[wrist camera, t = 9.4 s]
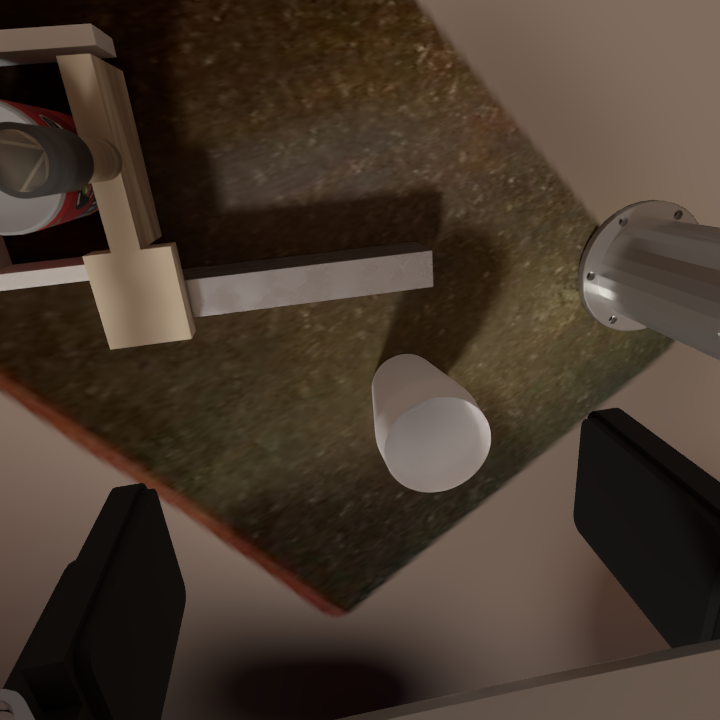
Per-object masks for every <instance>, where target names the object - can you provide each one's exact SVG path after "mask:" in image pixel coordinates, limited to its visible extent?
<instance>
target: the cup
mask: <svg viewBox="0 0 720 720" xmlns="http://www.w3.org/2000/svg"><path fill="white" fill-rule="evenodd" d="M372 396H373V410H374V424H375V436H376V441H377V445H378V448H379V451H380V453H381V455H382V456H383V458H384V461H385V463H386V465H387V467H388V469H389V471H390V473H391V474H392V476H393V477H394V478H395V479H396V480H397V481H398V482H399V483H401V484H402V485H404V486H406V487H407V488H410V489H412V490H416V491H420V492H440V491H445V490H448V489H451V488H454V487H456V486H458V485H460V484H462V483H463V482H465V481H466V480H468V479H469V478H470V477H472V476H473V475H474V474H475V473H476V472H477V471H478V470H479V468H480V467H481V466H482V464H483V463H484V461H485V459H486V457H487V455H488V452H489V448H490V443H491V432H490V427H489V424H488V422H487V419H486V418H485V416H484V415H483V413H482V412H481V410H480V409H479V407H478V406H477V404H476V402H475V400H474V398H473V397H472V396H471V395H470V394H469V393H468V392H467V391H466V390H465V389H464V388H463V387H462V386H460V385H459V384H458V383H456V382H455V381H454V380H452V379H451V378H450V377H448V376H447V375H446V374H444V373H443V372H442V371H440V370H439V369H438V368H436V367H435V366H434V365H432V364H431V363H430V362H428V361H427V360H426V359H424V358H422V357H420V356H418V355H414V354H401V355H397V356H394V357H392V358H390V359H388V360H387V361H385V362H384V363H383V364H382V365H381V366H380V367H379V368H378V370H377V371H376V373H375V375H374V378H373V381H372Z"/></svg>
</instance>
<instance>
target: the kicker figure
mask: <svg viewBox="0 0 720 720" xmlns="http://www.w3.org/2000/svg"><path fill="white" fill-rule="evenodd" d="M56 58H57V62H58V65H59V69H60V72H61V76H62V80H63V83H64V87H65V90H66V94H67V97H68V101H69V105H70V108H71V112H72V115H73V119H74V123H75V126H76V130H77V133H78V136H77V135H76V134H74V133H72V132H70V131H68V130H65V129H61V128H54V127H47V126H39V125H32V124H24V123H17V122H0V191H2V192H3V193H5V194H7V195H10V196H13V197H16V198H22V199H31V198H37V197H43V196H49V195H55V194H61V193H67V192H73V191H77V190H80V189H82V188H83V187H85V186H86V185H87V184H89V183H92V187H93V191H94V194H95V198H96V201H97V205H98V208H99V212H100V216H101V219H102V223H103V226H104V230H105V234H106V237H107V241H108V244H109V248H110V250H101V251H93V252H90V253H88V254H86V255H84V256H82V257H83V260H84V264H85V267H86V270H87V274H88V277H89V280H90V284H91V287H92V290H93V294H94V297H95V300H96V303H97V307H98V310H99V313H100V317H101V320H102V323H103V327H104V330H105V333H106V337H107V340H108V343H109V347H110V349H118V348H125V347H133V346H140V345H148V344H155V343H163V342H171V341H178V340H186V339H192V337H193V335H194V333H195V331H196V329H195V325H194V320H193V316H192V312H191V307H190V303H189V299H188V294H187V290H186V285H185V281H184V277H183V272H182V268H181V264H180V259H179V255H178V250H177V246H176V242H172V243H163V244H154V245H149V244H151V243H152V242H154V241H155V240H157V239H158V238H160V237H161V236H162V234H161V230H160V226H159V222H158V217H157V213H156V209H155V205H154V201H153V196H152V192H151V188H150V184H149V180H148V175H147V171H146V167H145V163H144V159H143V154H142V150H141V146H140V142H139V137H138V133H137V129H136V125H135V121H134V116H133V112H132V108H131V104H130V100H129V95H128V91H127V87H126V83H125V79H124V74H123V71H121V70H119V69H118V68H116V67H114V66H112V65H110V64H108V63H107V62H105V61H103V60H101V59H99V58H98V57H96V56H94V55H92V54H90V53H89V54H76V55H62V56H56Z"/></svg>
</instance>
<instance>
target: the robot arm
mask: <svg viewBox="0 0 720 720" xmlns="http://www.w3.org/2000/svg"><path fill="white" fill-rule="evenodd" d="M587 274H588V275H587ZM578 289H579V293H580V297H581V301H582V303H583V304H584V306H585V308H586V310H587V311H588V312H589V313H590V315H591V316H592V317H593V318H594V319H596V320H597V321H599V322H600V323H602V324H604V325H606V326H608V327H610V328H613V329H617V330H622V331H634V330H641V329H644V328H647V327H648V328H651V329H653V330H655V331H657V332H659V333H661V334H664V335H666V336H668V337H670V338H672V339H674V340H677V341H679V342H681V343H683V344H685V345H687V346H690V347H692V348H694V349H696V350H698V351H701V352H703V353H705V354H707V355H709V356H711V357H713V358H716V359H718V360H720V228H717V227H710V226H704V225H699V224H698V222H697V221H696V219H695V218H694V216H693V215H692V214H690V212H688V211H687V210H686V209H685V208H683V207H681V206H679V205H677V204H675V203H671V202H666V201H657V200H650V201H641V202H638V203H634V204H631V205H628V206H627V207H625V208H623V209H621V210H619V211H617V212H616V213H615V214H613V215H612V216H611V217H610V218H608V219H607V220H606V221H605V222H604V223H603V224H602V225H601V226H600V227H599V228H598V229H597V230H596V232H595V233H594V235H593V236H592V238H591V239H590V240H589V242H588V244H587V246H586V248H585V250H584V252H583V255H582V259H581V262H580V265H579V273H578ZM574 522H575V525H576V528H577V530H578V531H579V533H580V534H581V535H582V536H583V538H584V539H585V540H586V541H587V543H588V544H589V545H590V546H591V548H592V549H593V550H594V552H595V553H596V554H597V555H598V557H599V558H600V559H601V560H602V561H603V563H604V564H605V565H606V567H607V568H608V569H609V570H610V571H611V573H612V574H613V575H614V577H615V578H616V579H617V580H618V581H619V583H620V584H621V585H622V587H623V588H624V589H625V590H626V592H627V593H628V594H629V595H630V596H631V598H632V599H633V600H634V602H635V603H636V604H637V605H638V607H639V608H640V609H641V610H642V611H643V613H644V614H645V615H646V617H647V618H648V619H649V620H650V622H651V623H652V624H653V625H654V627H655V628H656V629H657V630H658V632H659V633H660V634H661V635H662V637H663V638H664V639H665V640H666V642H667V643H668V644H669V645H670V646H671V648H672V649H668V650H662V651H658V652H653V653H648V654H643V655H638V656H634V657H628V658H624V659H619V660H615V661H609V662H605V663H600V664H595V665H590V666H585V667H580V668H575V669H570V670H565V671H561V672H556V673H551V674H546V675H542V676H537V677H533V678H528V679H523V680H519V681H513V682H509V683H504V684H499V685H495V686H490V687H485V688H481V689H476V690H471V691H467V692H462V693H457V694H452V695H448V696H443V697H438V698H434V699H429V700H424V701H420V702H415V703H410V704H405V705H401V706H396V707H392V708H387V709H383V710H378V711H373V712H369V713H364V714H360V715H355V716H350V717H346V718H342V719H337V720H720V482H719V481H717V480H716V479H715V478H713V477H712V476H711V475H709V474H708V473H706V472H705V471H704V470H703V469H701V468H700V467H698V466H697V465H696V464H694V463H693V462H692V461H690V460H689V459H688V458H686V457H685V456H684V455H682V454H681V453H679V452H678V451H677V450H675V449H674V448H673V447H671V446H670V445H669V444H667V443H666V442H665V441H663V440H662V439H660V438H659V437H658V436H656V435H655V434H654V433H652V432H651V431H650V430H648V429H647V428H646V427H644V426H643V425H642V424H640V423H639V422H637V421H636V420H635V419H633V418H632V417H631V416H629V415H628V414H627V413H625V412H624V411H622V410H621V409H619V408H612V409H605V410H598V411H592V412H591V413H590V414H589V415H588V418H587V419H585V420H583V422H582V425H581V435H580V446H579V459H578V470H577V481H576V492H575V503H574ZM185 602H186V591H185V586H184V582H183V578H182V575H181V572H180V568H179V565H178V561H177V558H176V555H175V552H174V548H173V545H172V541H171V538H170V535H169V531H168V528H167V525H166V522H165V518H164V515H163V511H162V508H161V504H160V501H159V498H158V494H157V492H156V490H155V489H147V487H146V486H145V484H143V483H140V484H133V485H127V486H121V487H115V488H113V489H112V491H111V492H110V494H109V496H108V498H107V500H106V502H105V504H104V506H103V508H102V510H101V512H100V514H99V516H98V518H97V520H96V522H95V523H94V525H93V528H92V530H91V531H90V534H89V535H88V537H87V540H86V541H85V543H84V545H83V547H82V549H81V551H80V553H79V555H78V557H77V559H76V560H75V561H73V562H71V563H70V564H69V565H68V566H67V568H66V569H65V570H64V572H63V574H62V576H61V578H60V580H59V582H58V584H57V586H56V587H55V589H54V591H53V593H52V595H51V597H50V599H49V601H48V603H47V605H46V607H45V609H44V611H43V613H42V614H41V616H40V618H39V620H38V622H37V624H36V626H35V628H34V630H33V632H32V634H31V635H30V637H29V639H28V641H27V643H26V645H25V647H24V649H23V651H22V653H21V655H20V656H19V659H18V660H17V662H16V664H15V666H14V668H13V670H12V672H11V674H10V676H9V678H8V679H7V681H6V683H5V685H4V687H3V689H1V690H0V720H161V716H162V711H163V707H164V702H165V697H166V693H167V688H168V683H169V679H170V674H171V669H172V664H173V660H174V655H175V650H176V645H177V641H178V636H179V631H180V627H181V621H182V617H183V613H184V608H185Z"/></svg>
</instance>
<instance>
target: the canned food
mask: <svg viewBox="0 0 720 720" xmlns="http://www.w3.org/2000/svg"><path fill="white" fill-rule="evenodd" d="M0 122H17V123H24V124H32V125H39V126H47V127H54V128H61V129H65V130H68V131H70V132H72V133H74V134H76V135H77V136H78V133H77V130H76V126H75V123H74V119H73V117H72V116H69V115H67V114H64V113H61V112H57V111H53V110H48V109H44V108H39V107H34V106H30V105H25V104H20V103H16V102H11V101H7V100H2V99H0ZM98 209H99V208H98V205H97V201H96V198H95V194H94V191H93V187H92V183H89V184H87V185H86V186H85V187H83V188H82V189H80V190H77V191H73V192H67V193H61V194H55V195H49V196H43V197H37V198H31V199H22V198H16V197H13V196H10V195H7V194H5V193H3V192H2V191H0V235H23V234H27V233H31V232H35V231H39V230H43V229H46V228H49V227H52V226H55V225H59V224H62V223H65V222H68V221H71V220H74V219H78V218H81V217H84V216H87V215H90V214H92V213H93V212H95V211H97V210H98Z"/></svg>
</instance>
